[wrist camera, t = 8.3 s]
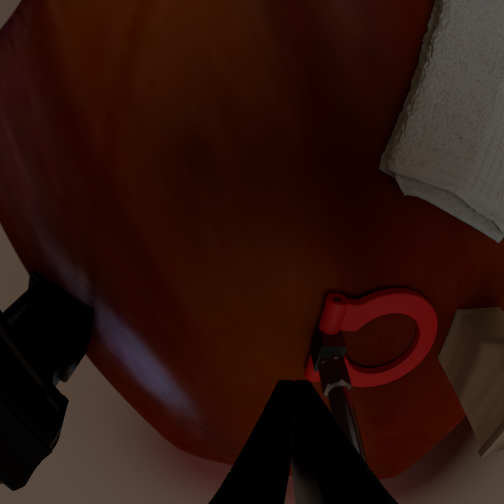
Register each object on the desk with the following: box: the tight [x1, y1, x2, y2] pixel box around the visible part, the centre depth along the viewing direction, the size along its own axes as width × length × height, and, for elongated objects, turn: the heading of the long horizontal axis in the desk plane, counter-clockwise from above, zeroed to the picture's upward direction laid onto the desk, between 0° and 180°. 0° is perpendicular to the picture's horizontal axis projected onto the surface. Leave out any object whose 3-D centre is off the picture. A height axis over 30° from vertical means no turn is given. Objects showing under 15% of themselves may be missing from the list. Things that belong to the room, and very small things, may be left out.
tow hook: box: [304, 288, 438, 465], centre depth 16 cm, size 9×14×10 cm
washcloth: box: [379, 0, 504, 243], centre depth 13 cm, size 12×18×3 cm, turn 162°
